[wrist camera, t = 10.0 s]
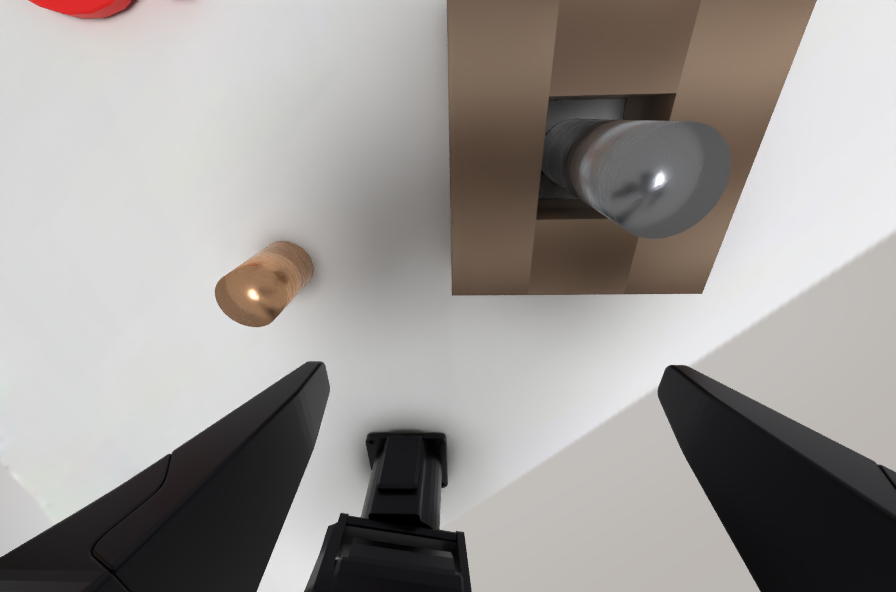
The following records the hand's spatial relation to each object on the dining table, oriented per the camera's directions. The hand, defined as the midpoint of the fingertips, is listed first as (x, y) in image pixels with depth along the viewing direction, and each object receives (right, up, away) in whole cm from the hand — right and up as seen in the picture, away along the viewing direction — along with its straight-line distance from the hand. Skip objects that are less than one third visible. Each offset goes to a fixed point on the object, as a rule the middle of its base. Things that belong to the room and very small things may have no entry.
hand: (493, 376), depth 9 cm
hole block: (+5, +9, +8) cm, 13 cm away
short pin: (-11, +4, +11) cm, 16 cm away
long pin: (+5, +9, +8) cm, 13 cm away
